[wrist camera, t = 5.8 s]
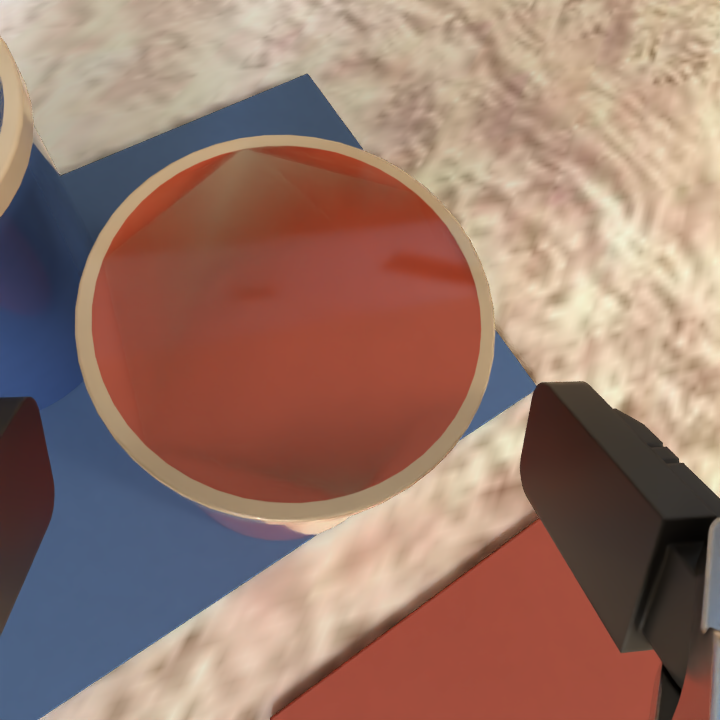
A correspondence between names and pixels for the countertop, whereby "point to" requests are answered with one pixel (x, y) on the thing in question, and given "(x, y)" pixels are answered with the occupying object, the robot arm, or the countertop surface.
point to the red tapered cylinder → (284, 331)
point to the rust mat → (492, 652)
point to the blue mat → (133, 484)
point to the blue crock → (35, 255)
